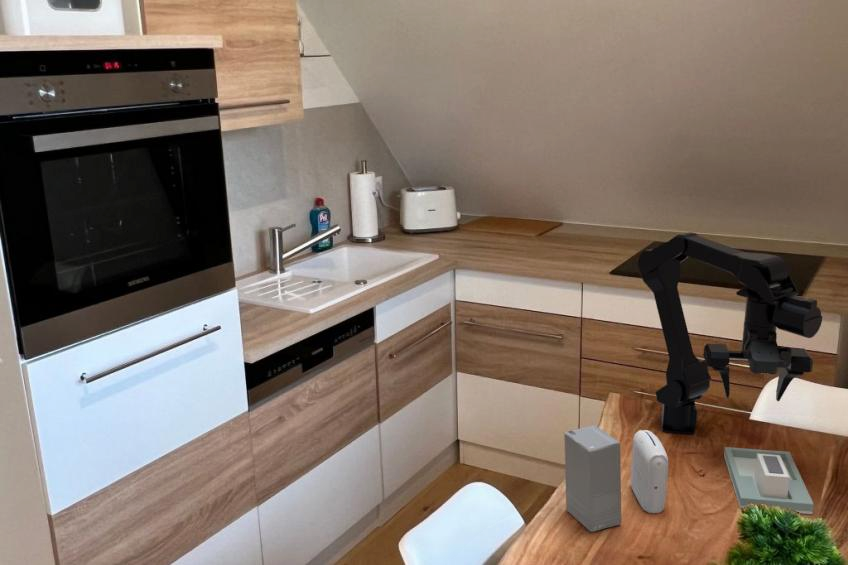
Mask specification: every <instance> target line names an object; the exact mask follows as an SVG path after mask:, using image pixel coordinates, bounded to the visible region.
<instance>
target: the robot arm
mask: <svg viewBox="0 0 848 565" xmlns="http://www.w3.org/2000/svg"><path fill="white" fill-rule="evenodd" d="M688 258H691V259H694V260H697V261H699V262H702V263H704V264H706V265H710V266H712V267H715V268H717V269H720V270H723V271H724V272H728V273H730V274H731V275H732V276H734V277H735V279H736V280H737V281H738V282H739V283H740V284H742V285H744V286H743V287H742V288H741V289H739V290H737V291H736V295H737V296H739V297H742V298H746V302H745V310H744V311H745V312H744V320H743V330H742V331H743V332H742V340H741V346H740V347H741V349H740V350H729V348H728V346H727V344H725V343H723V344H721V343H706V344H705V346H704V347H703V358H704V360H701V361H700V359H699V357H697V356H696V355H695V353H694V350H693V346H692V343H691V338H690V334H689V331H688V325H687V322H686V318H685V314H684V311H683V305H682V302H681V298H680V293H679V288H678V286H679V283H680V282H679V281H680V277H681V274H682V273H681V272H682V271H681V270H682V269H681V263H682V262H684V261H685V260H686V259H688ZM636 262H637V268H638V271H639V274H640V276H641V279H642V281H643V283H644V284H645V285H646V286H647V287H648V289H650V290H651V292H652V293H653V296H654V300H655V304H656V309H657V313H658V317H659V321H660V325H661V329H662V334H663V338H664V342H665V346H666V351H667V354H668V355H667V356H668V363H667V367H666V370H665V380H666V385H664V386H663V387H661V388H659V389H658V390H656V391H655V396H656V401H657V402H658V403H660V404H662V408H661V409H662V410H661V417H660V418H659V419H660V425H661V426H660V427H661V431H662V432H663V433H671V434H672V433H676V434H686V435H687V434H688V435H694V434H695V428H697V420H698V408H697V405H696V402H695V401H699V400H701V399H702V397H703V395H704V394H706V393H707V392H708V389H709V388H710V385H711V384H710V381H711V380H712V377H711V375H710V373H709V368H708V367H710V368H711V367H712V370H713V371H716V372H718V373H719V374H720V377H721V382H722V385H723V390H724V394H725V397H726V398H728V399H729V397H730V390H731V389H730V372H731V369H730V366H729V364H730V362H731V361H733V362H745V363H746V362H747V363H748V367H749V371H750V372H751V373H752V374H755V375H757V374H767V375H768V374H769V375H771V376H773V375H776V374H778V373H779V374H778V379H777V386H776V390H775V392H776V393H775V397H776V398H775V399H776V401H777V402H779V401H781V399H782V397H783V395H784V393H785V392H786V390H787V389H788V386H789V385H790V384H791V382H792V381H793V380H794V379H795V378H797V377H799V376H801V377H802V376H804V374H805V373H811V372H813V367H814V366H813V364H814V361H813V358H812V356H811V355H810V354H809V352H808V351H807V349H806V348H801V347H786V346H785V347H783V346H779V345H778V342H777V339H778V337H777V335H778V334H777V329H778V330H781V331H784V332H788V333H791V334H794V335H796V336H800V337H803V338H807V339H812V338H814V337H815V336H816V335H817V334H818V332H819V331H820V328H821V326H822V323H823V316H822V311H821V309H820V308H819V307H818V301H817V299H814V298H805V297H801V296H798V295H799V294H800V292H799V289H798V288H797V286H796V283H795V282H794V279H793V278H792V276H791V273H790V271H789V268H788V265H787V264H786V260H785V259H784V258H783V257H781V256H779V255H775V254H770V253H769V254H768V253H759V252H747V251H746V252H745V251H742V250H739V249H736V248H733V247H731V246H728V245H726V244H723V243H720V242H717V241H714V240H712V239H708V238H706V237H704V236H700V235H699V234H697V232H692V231H691V232H690V231H689V232H685V233H680V234H677V235H675V236H674V237H673V238H671V239H670V240H668V241H666V242H664V243H662V244H661V245H659V246H658V245H657V246H656V247H654V248H652V249H647V250H643V251H642V252H641V253H640V254H639V257H638V258H637V261H636ZM776 287H780V288H776ZM771 288H776V289H774V290H772V289H771Z"/></svg>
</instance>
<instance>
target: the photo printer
mask: <svg viewBox="0 0 848 565" xmlns="http://www.w3.org/2000/svg"><path fill="white" fill-rule="evenodd" d="M631 453H632V454H631V468H630V478H629V479H630V488H631V490H632V492H633V493H634V496H635V498H636V500H637V502H638V503H639V506H640V507H641V508H642V510H643V511H645V512H646V513H648V514H649V513H650V514H660V513H661V512H662V511H664V510H665V507H666V497H667V486H668V474H669V472H668V471H669V458H668V455H667V452H666V450H665V447H664V446H663V444H662V442H661V440H660V439H659V438H658V436H656V434H655V433H653V432H652V431H650V430H647V429H645V430H643V429H639V430H638V431H637V432H635V433H634V435H633V439H632V452H631Z"/></svg>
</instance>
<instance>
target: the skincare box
mask: <svg viewBox="0 0 848 565" xmlns="http://www.w3.org/2000/svg"><path fill="white" fill-rule="evenodd" d="M563 434H564V437H563V438H564V439H563V440H564V467H565V470H564V471H565V507H566V508H565V510H566V511H567V512H568V513H569V514H570V515H571V516H572V517H573V518H574V519H575V520H577V521H578V522H579V523H580V524H581V525H582V526H583V527H585V528H586V529H587V531H589V532H590V533H594V532H597V531H600V530H603V529H606V528H607V529H608V528H611V527H615V526H619V525H621V523H622V480H621V477H622V476H621V475H622V474H621V473H622V472H621V471H622V469H621V468H622V467H621V442H620V441H618V440H617V439H616V438H614V437H613V436H612V435H609V433H607V432H606V431H604V430H603V429H602V428H600V427H599V426H597V425H596V424H592V425H588V426H584V427H581V428H577V429H573V430H568V431H565V432H563Z"/></svg>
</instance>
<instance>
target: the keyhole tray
mask: <svg viewBox="0 0 848 565" xmlns="http://www.w3.org/2000/svg"><path fill="white" fill-rule="evenodd" d="M757 454H770V455H780V456H781V459H782V461H783V463H784V465H785V468H786V470H787V472H788V475H789V477H790V479H789V487H788V495H787V499H781V498H769V497H760V495H759V492H758V489H757V486H756V484H755V481H754V476H755V468H756V459H757ZM723 457H724V460H725V464H726V467H727V469H728V473H729V477H730V479H731V483H732V486H733V489H734V492H735V496H736V499H737V502H738V505H739V508H740V509H745V508H744V507H745V506H746V505H747V504H751V503H752V504H765V505H768V506H773V505H774V506H779V507H782V508H791V509H793V510H795V511H797V512H799V513H798V514H803V515H805V514H806V515H813V513H814V505H815V504H814V501H813V500H812V497H811V495H810V494H809V491H808V489H807V487H806V483H804V480H803V478H802V476H801V473H800V471H799V469H798V467H797V465H796V462H795V461H794V459H793V456H792V454H791V452H790V451H785V450H783V451H782V450H771V449H757V448H746V447H745V448H744V447H743V448H742V447H732V446H731V447H729V446H725V447H724V455H723Z"/></svg>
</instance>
